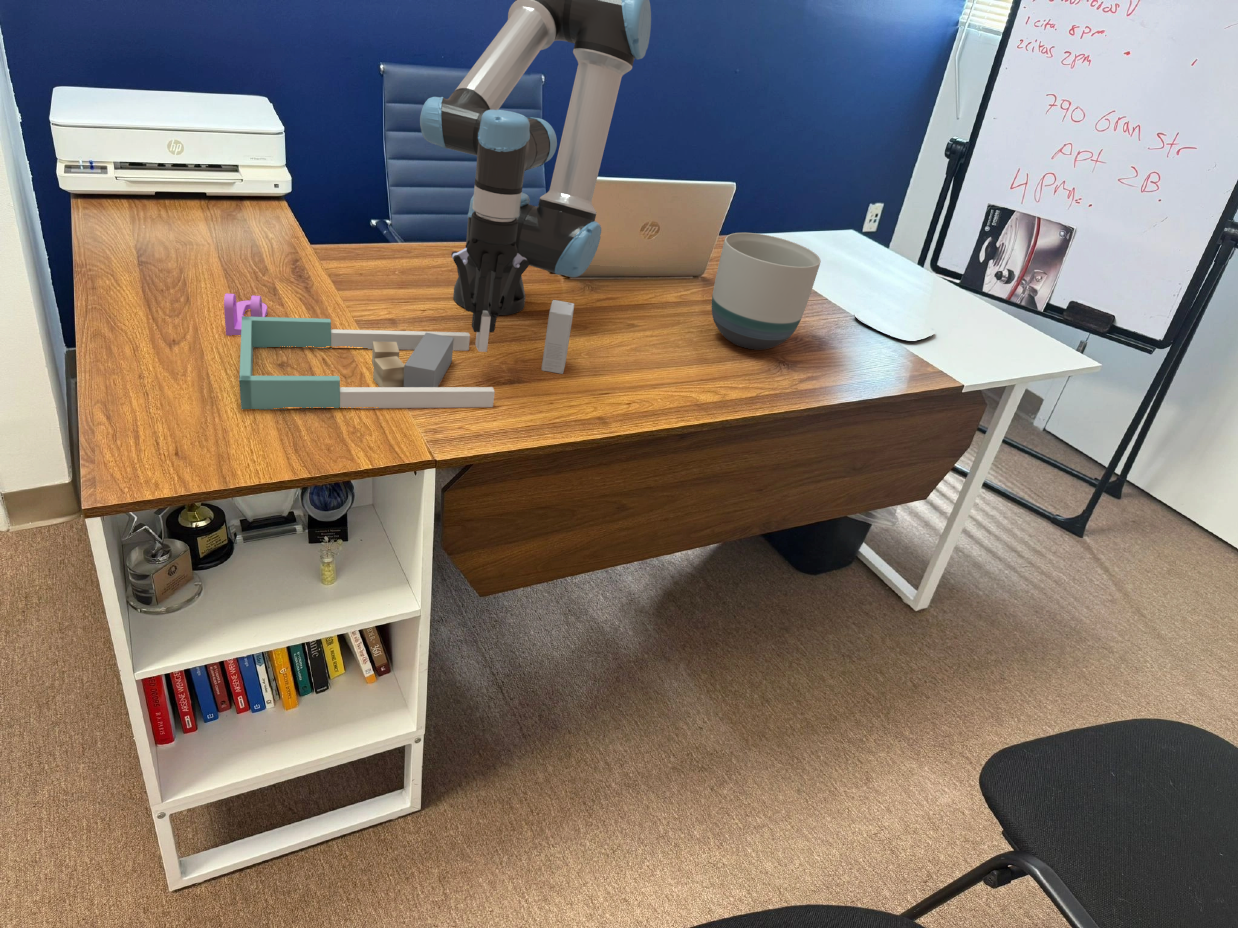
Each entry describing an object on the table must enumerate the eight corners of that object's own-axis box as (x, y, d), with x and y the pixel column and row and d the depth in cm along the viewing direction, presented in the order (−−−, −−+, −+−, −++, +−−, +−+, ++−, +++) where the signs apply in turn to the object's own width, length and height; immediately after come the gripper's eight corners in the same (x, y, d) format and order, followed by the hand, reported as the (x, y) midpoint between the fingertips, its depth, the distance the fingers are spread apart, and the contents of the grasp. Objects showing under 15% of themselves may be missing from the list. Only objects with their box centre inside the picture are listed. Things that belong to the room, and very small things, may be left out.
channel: (467, 347, 160) (468, 332, 158) (492, 407, 142) (494, 391, 140) (330, 344, 151) (330, 329, 149) (340, 408, 133) (340, 391, 131)
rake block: (451, 362, 154) (453, 337, 151) (432, 397, 142) (434, 370, 139) (424, 357, 154) (426, 332, 151) (403, 391, 142) (404, 365, 139)
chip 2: (395, 377, 145) (396, 356, 143) (405, 387, 143) (406, 366, 140) (373, 380, 143) (373, 358, 141) (382, 390, 140) (382, 369, 138)
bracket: (260, 338, 149) (258, 301, 145) (226, 335, 147) (223, 298, 143) (269, 308, 159) (267, 273, 155) (236, 306, 157) (234, 270, 154)
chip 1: (395, 362, 150) (396, 342, 148) (398, 373, 147) (399, 352, 144) (372, 362, 148) (372, 341, 146) (374, 372, 145) (375, 351, 143)
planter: (739, 318, 199) (763, 229, 188) (809, 353, 188) (839, 261, 177) (682, 331, 185) (705, 236, 174) (754, 371, 174) (783, 272, 163)
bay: (330, 344, 151) (330, 318, 148) (339, 408, 133) (339, 380, 130) (243, 343, 145) (241, 316, 143) (241, 409, 128) (239, 380, 125)
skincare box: (544, 357, 162) (552, 298, 156) (566, 361, 162) (575, 303, 156) (540, 370, 157) (548, 311, 151) (563, 374, 157) (572, 315, 151)
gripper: (528, 211, 141) (512, 340, 153) (450, 204, 136) (440, 338, 148) (540, 225, 135) (522, 358, 147) (459, 218, 130) (447, 356, 142)
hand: (481, 348), depth 148 cm, fingers closed
